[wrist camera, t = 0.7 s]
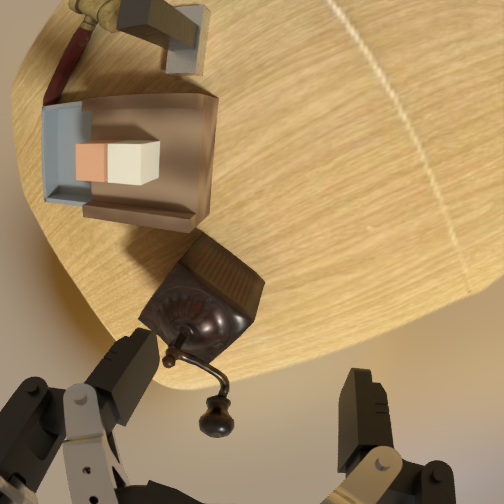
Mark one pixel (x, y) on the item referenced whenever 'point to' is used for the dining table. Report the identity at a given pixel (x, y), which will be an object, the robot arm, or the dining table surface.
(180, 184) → the slot block
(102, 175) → the terracotta cube
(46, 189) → the tray
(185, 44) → the grey upright post
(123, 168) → the off-white cube
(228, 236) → the dining table surface
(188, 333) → the antique coffee grinder
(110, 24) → the gavel
